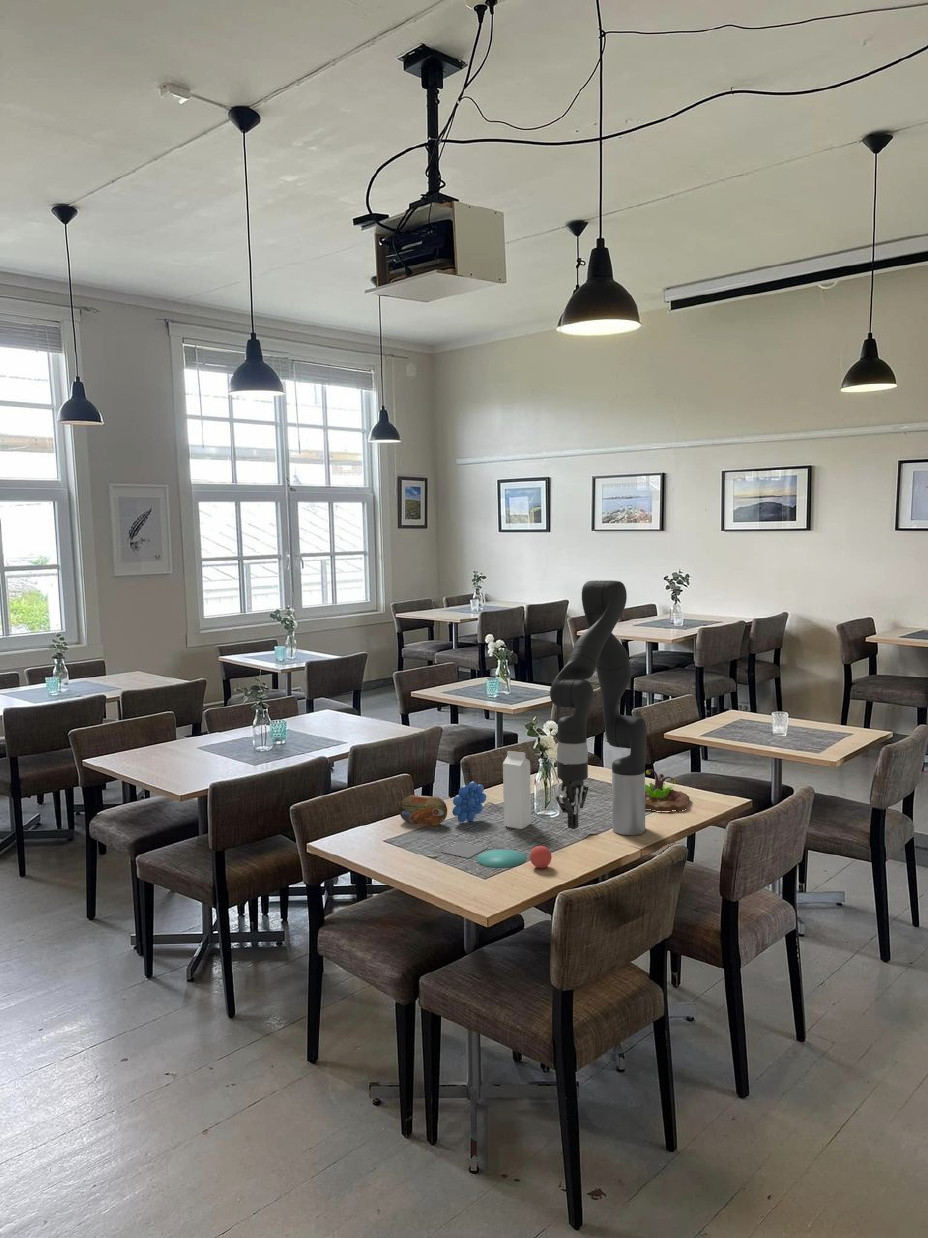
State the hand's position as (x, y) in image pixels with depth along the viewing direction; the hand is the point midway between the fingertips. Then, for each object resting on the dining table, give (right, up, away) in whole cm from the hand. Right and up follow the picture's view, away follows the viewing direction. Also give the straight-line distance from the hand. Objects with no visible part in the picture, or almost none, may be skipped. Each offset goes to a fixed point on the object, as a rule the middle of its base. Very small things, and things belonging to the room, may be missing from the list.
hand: (573, 828), depth 216 cm
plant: (+34, -7, +60) cm, 69 cm away
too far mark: (-27, -11, +20) cm, 36 cm away
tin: (-39, -10, +45) cm, 60 cm away
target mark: (-17, -11, +13) cm, 25 cm away
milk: (-11, -9, +41) cm, 43 cm away
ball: (-7, -9, +6) cm, 13 cm away
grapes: (-26, -9, +46) cm, 54 cm away
